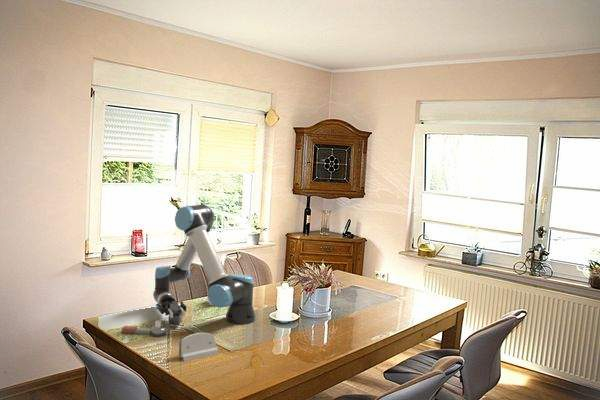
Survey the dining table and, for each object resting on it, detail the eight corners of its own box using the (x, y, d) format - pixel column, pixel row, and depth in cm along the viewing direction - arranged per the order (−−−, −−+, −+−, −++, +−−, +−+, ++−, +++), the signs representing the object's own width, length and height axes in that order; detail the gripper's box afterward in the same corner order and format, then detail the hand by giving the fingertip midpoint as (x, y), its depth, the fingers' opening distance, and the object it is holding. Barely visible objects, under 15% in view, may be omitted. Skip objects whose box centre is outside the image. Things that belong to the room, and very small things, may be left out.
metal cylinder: (181, 322, 258) (181, 302, 257) (178, 325, 253) (179, 305, 252) (171, 321, 258) (171, 301, 257) (168, 325, 253) (168, 304, 252)
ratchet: (167, 331, 248) (168, 318, 248) (163, 337, 241) (164, 323, 241) (125, 329, 248) (125, 316, 248) (120, 334, 241) (120, 321, 241)
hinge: (183, 361, 216) (180, 336, 217) (178, 361, 219) (175, 336, 221) (219, 353, 226) (216, 329, 228) (214, 353, 229) (211, 330, 231)
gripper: (183, 306, 275) (196, 320, 255) (148, 310, 267) (158, 324, 247) (183, 292, 275) (196, 305, 254) (148, 295, 266) (159, 308, 246)
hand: (177, 314), depth 250 cm, fingers closed on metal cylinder, 5 cm apart
